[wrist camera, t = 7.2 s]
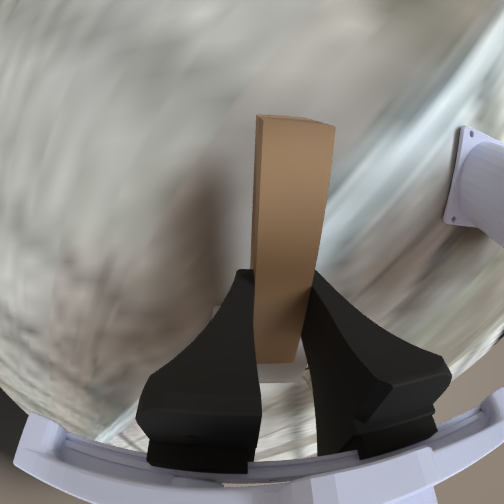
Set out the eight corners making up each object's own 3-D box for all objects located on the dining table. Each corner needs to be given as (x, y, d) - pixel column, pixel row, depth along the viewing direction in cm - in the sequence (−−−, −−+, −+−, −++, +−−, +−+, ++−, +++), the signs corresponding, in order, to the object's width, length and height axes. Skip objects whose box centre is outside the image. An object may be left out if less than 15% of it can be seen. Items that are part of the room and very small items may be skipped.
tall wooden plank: (206, 114, 10) (188, 120, 7) (349, 123, 10) (395, 137, 7) (219, 374, 19) (216, 421, 15) (299, 372, 19) (307, 418, 16)
